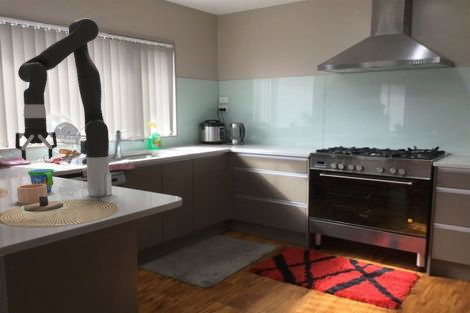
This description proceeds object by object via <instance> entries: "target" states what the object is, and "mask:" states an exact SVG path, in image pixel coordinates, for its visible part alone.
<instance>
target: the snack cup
mask: <svg viewBox="0 0 470 313" xmlns="http://www.w3.org/2000/svg"><path fill="white" fill-rule="evenodd" d="M54 173H55V170H54V169H53V168H40V169H39V168H38V169H31V170H29V171H28V172H27V174H28V175H29V178H30V182H31V183H30V184H46V185H47V193H49V192H51V191H52V188H53V185H54V179H53V177H54V176H53V175H54Z"/></svg>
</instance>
